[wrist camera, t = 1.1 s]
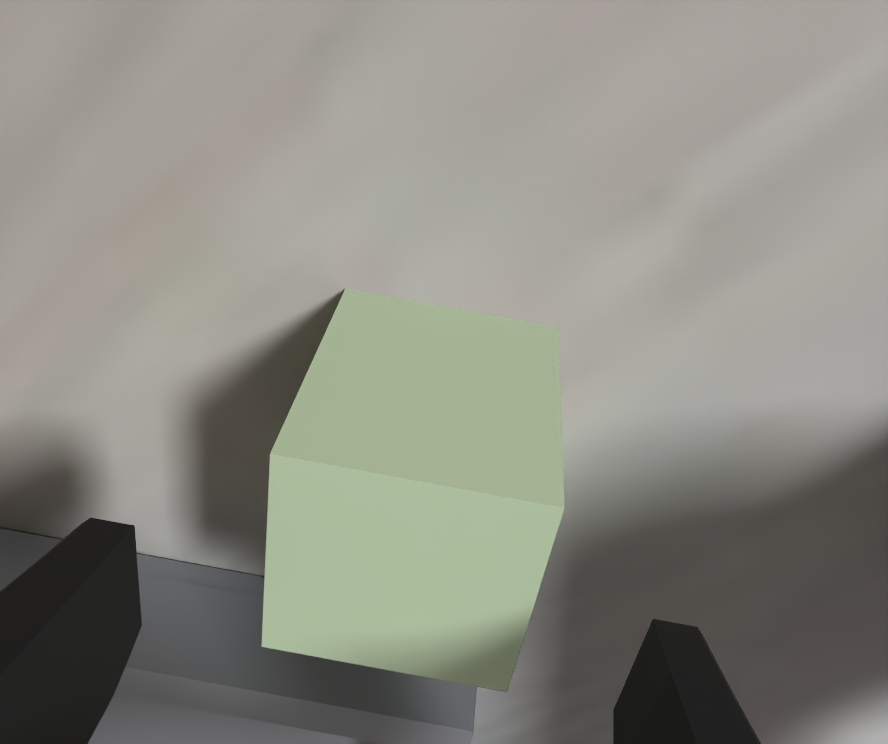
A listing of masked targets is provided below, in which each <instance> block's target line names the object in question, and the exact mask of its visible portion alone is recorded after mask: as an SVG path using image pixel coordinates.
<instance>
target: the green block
mask: <svg viewBox="0 0 888 744" xmlns="http://www.w3.org/2000/svg"><path fill="white" fill-rule="evenodd" d="M563 511H564V480H563V451H562V422H561V392H560V363H559V334H558V327H553V326H548V325H542V324H537V323H531V322H526V321H520V320H515V319H509V318H504V317H499V316H493V315H488V314H482V313H477V312H471V311H466V310H460V309H455V308H449V307H444V306H439V305H433V304H428V303H422V302H417V301H411V300H406V299H400V298H395V297H389V296H384V295H379V294H373V293H368V292H362V291H357V290H351V289H346V288H345V290H344V293H343V295H342V297H341V299H340V301H339V303H338V306H337V308H336V310H335V312H334V314H333V317H332V319H331V321H330V323H329V325H328V328H327V330H326V332H325V334H324V336H323V339H322V341H321V343H320V345H319V347H318V350H317V352H316V354H315V356H314V358H313V361H312V363H311V365H310V367H309V369H308V372H307V374H306V376H305V378H304V380H303V382H302V385H301V387H300V389H299V391H298V393H297V396H296V398H295V400H294V402H293V404H292V407H291V409H290V411H289V413H288V415H287V418H286V420H285V422H284V424H283V426H282V429H281V431H280V433H279V435H278V437H277V440H276V442H275V444H274V446H273V448H272V451H271V453H270V465H269V488H268V510H267V533H266V556H265V579H264V601H263V624H262V647H266V648H271V649H277V650H282V651H287V652H293V653H298V654H304V655H309V656H314V657H320V658H325V659H331V660H336V661H341V662H347V663H352V664H358V665H363V666H368V667H374V668H379V669H385V670H390V671H395V672H401V673H406V674H412V675H417V676H422V677H428V678H433V679H439V680H444V681H449V682H455V683H460V684H466V685H471V686H476V687H482V688H487V689H492V690H498V691H503V692H507V691H508V687H509V684H510V681H511V678H512V675H513V671H514V668H515V665H516V662H517V659H518V655H519V652H520V649H521V646H522V643H523V639H524V636H525V633H526V630H527V627H528V623H529V620H530V617H531V614H532V611H533V607H534V604H535V601H536V598H537V595H538V591H539V588H540V585H541V582H542V579H543V575H544V572H545V569H546V566H547V562H548V559H549V556H550V553H551V550H552V546H553V543H554V540H555V537H556V534H557V530H558V527H559V524H560V521H561V518H562V514H563Z"/></svg>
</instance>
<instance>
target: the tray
mask: <svg viewBox="0 0 888 744" xmlns="http://www.w3.org/2000/svg"><path fill="white" fill-rule="evenodd" d="M60 541H62V540H61V539H56V538H50V537H45V536H39V535H34V534H28V533H23V532H18V531H12V530H7V529H1V528H0V591H1V590H2V589H4V588H5V587H6V586H7V585H8V584H10V583H11V582H12V581H13V580H15V579H16V578H17V577H18V576H20V575H21V574H22V573H23V572H24V571H26V570H27V569H28V568H29V567H30V566H32V565H33V564H34V563H35V562H37V561H38V560H39V559H40V558H41V557H43V556H44V555H45V554H46V553H47V552H48V551H50V550H51V549H52V548H53V547H54V546H56V545H57V544H58V543H59V542H60ZM137 566H138V579H139V592H140V605H141V619H142V626H141V629H140V631H139V634H138V636H137V639H136V642H135V644H134V647H133V649H132V652H131V654H130V657H129V659H128V662H127V664H126V667H125V669H124V672H123V674H122V676H121V679H120V681H119V684H118V686H117V688H116V691H115V693H114V696H113V697H112V699H111V701H110V703H109V705H108V707H107V709H106V711H105V713H104V715H103V716H102V718H101V720H100V722H99V724H98V726H97V727H96V729H95V731H94V733H93V735H92V737H91V739H90V740H89V742H88V744H470V741H471V738H472V734H473V728H474V716H475V703H476V690H477V687H476V686H471V685H466V684H460V683H455V682H449V681H444V680H439V679H433V678H428V677H422V676H417V675H412V674H406V673H401V672H395V671H390V670H385V669H379V668H374V667H368V666H363V665H358V664H352V663H347V662H341V661H336V660H331V659H325V658H320V657H314V656H309V655H304V654H298V653H293V652H287V651H282V650H277V649H271V648H266V647H262V624H263V601H264V579H265V577H261V576H256V575H250V574H245V573H240V572H234V571H229V570H223V569H218V568H213V567H207V566H202V565H196V564H191V563H185V562H180V561H175V560H169V559H164V558H158V557H153V556H148V555H142V554H137Z"/></svg>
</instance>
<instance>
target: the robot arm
mask: <svg viewBox="0 0 888 744" xmlns="http://www.w3.org/2000/svg"><path fill="white" fill-rule="evenodd" d="M141 626H142V619H141V605H140V592H139V579H138V566H137V553H136V540H135V527H134V525H128V524H122V523H117V522H111V521H106V520H100V519H95V518H90V519H88V520H86V521H85V522H83V523H82V524H81V525H80V526H78V527H77V528H76V529H75V530H74V531H72V532H71V533H70V534H69V535H68V536H66V537H65V538H64V539H63V540H62V541H60V542H59V543H58V544H57V545H56V546H54V547H53V548H52V549H51V550H50V551H48V552H47V553H46V554H45V555H44V556H43V557H41V558H40V559H39V560H38V561H37V562H35V563H34V564H33V565H32V566H30V567H29V568H28V569H27V570H26V571H24V572H23V573H22V574H21V575H20V576H18V577H17V578H16V579H15V580H13V581H12V582H11V583H10V584H8V585H7V586H6V587H5V588H4V589H2V590H1V591H0V744H88V742H89V740H90V739H91V737H92V735H93V733H94V731H95V729H96V727H97V726H98V724H99V722H100V720H101V718H102V716H103V715H104V713H105V711H106V709H107V707H108V705H109V703H110V701H111V699H112V697H113V696H114V693H115V691H116V688H117V686H118V684H119V681H120V679H121V676H122V674H123V672H124V669H125V667H126V664H127V662H128V659H129V657H130V654H131V652H132V649H133V647H134V644H135V642H136V639H137V636H138V634H139V631H140V629H141ZM614 744H761V743H760V741H759V739H758V737H757V736H756V734H755V732H754V730H753V729H752V727H751V725H750V723H749V721H748V719H747V718H746V716H745V714H744V712H743V710H742V709H741V707H740V705H739V703H738V701H737V699H736V698H735V696H734V694H733V692H732V690H731V688H730V686H729V684H728V683H727V681H726V679H725V677H724V675H723V673H722V671H721V669H720V667H719V666H718V664H717V662H716V660H715V658H714V656H713V654H712V652H711V650H710V648H709V646H708V645H707V643H706V641H705V639H704V637H703V635H702V633H701V632H700V630H699V629H698V628H697V627H694V626H689V625H683V624H678V623H672V622H667V621H661V620H656V619H653V620H652V623H651V625H650V627H649V630H648V632H647V634H646V637H645V639H644V641H643V643H642V646H641V648H640V650H639V653H638V655H637V657H636V660H635V662H634V664H633V666H632V669H631V671H630V673H629V676H628V678H627V680H626V683H625V685H624V687H623V689H622V692H621V694H620V696H619V699H618V701H617V703H616V706H615V708H614Z"/></svg>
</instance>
